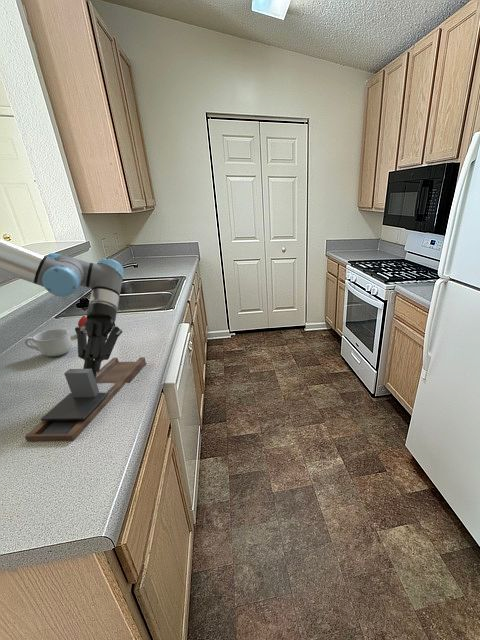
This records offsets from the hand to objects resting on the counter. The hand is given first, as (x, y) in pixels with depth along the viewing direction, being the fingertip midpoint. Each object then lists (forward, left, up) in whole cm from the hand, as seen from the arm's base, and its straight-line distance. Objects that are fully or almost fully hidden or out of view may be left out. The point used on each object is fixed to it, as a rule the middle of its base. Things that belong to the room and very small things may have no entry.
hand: (88, 382), depth 93 cm
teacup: (-47, -4, -6) cm, 47 cm away
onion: (-62, +11, -6) cm, 63 cm away
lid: (+5, -5, -3) cm, 8 cm away
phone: (+9, -8, -5) cm, 13 cm away
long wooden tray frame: (-2, +1, -6) cm, 6 cm away
